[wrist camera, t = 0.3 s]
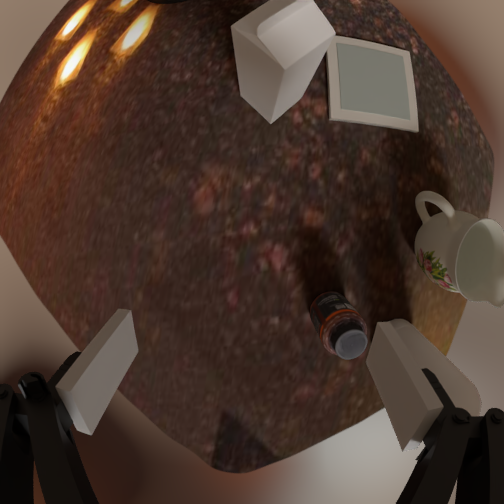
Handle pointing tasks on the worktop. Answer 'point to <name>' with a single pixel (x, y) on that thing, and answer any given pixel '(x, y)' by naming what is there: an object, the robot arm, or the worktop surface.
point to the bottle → (439, 367)
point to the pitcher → (461, 251)
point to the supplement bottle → (339, 325)
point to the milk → (279, 53)
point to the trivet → (371, 84)
